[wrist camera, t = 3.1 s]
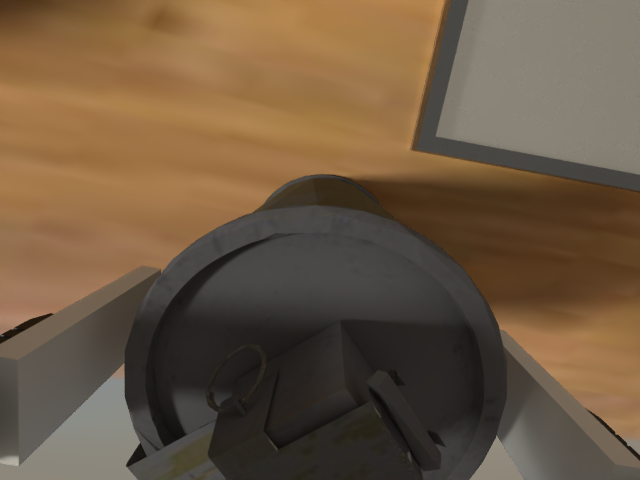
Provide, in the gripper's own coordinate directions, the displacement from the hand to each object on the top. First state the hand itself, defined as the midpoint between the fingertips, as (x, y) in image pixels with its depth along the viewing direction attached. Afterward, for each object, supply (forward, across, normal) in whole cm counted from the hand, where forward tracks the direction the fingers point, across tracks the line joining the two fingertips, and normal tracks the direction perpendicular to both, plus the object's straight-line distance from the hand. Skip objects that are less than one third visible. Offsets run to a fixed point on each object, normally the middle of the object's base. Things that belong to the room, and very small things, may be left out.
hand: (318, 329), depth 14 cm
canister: (+13, 0, 0) cm, 13 cm away
